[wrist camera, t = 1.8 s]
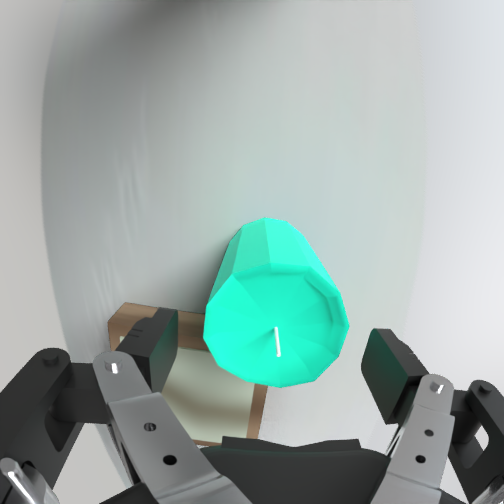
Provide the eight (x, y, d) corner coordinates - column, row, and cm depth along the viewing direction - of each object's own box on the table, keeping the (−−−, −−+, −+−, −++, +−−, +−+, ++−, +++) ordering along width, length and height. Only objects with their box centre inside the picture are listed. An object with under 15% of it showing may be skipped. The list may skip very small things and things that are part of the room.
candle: (324, 267, 22) (383, 363, 11) (258, 311, 23) (258, 430, 12) (278, 200, 21) (305, 240, 9) (209, 249, 22) (161, 335, 10)
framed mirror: (125, 302, 23) (106, 323, 20) (272, 321, 23) (275, 347, 20) (136, 406, 26) (125, 431, 23) (255, 424, 27) (254, 452, 23)
